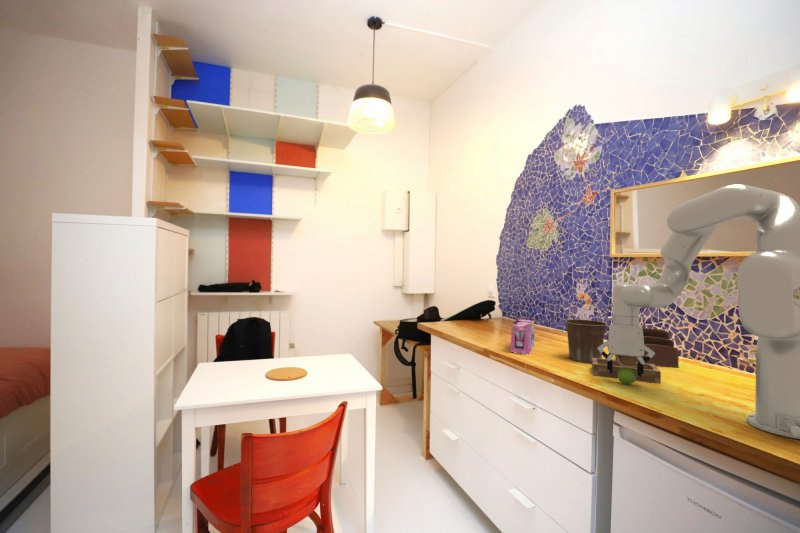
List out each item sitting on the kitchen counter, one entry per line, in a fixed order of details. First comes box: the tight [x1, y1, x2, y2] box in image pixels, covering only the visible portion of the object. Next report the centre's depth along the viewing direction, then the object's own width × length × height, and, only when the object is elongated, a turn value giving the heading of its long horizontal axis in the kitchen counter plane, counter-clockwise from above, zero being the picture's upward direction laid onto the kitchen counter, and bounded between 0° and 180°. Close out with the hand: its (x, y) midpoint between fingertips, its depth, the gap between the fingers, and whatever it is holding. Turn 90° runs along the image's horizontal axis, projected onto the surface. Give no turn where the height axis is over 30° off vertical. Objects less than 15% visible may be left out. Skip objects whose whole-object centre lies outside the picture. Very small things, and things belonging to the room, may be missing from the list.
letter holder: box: [619, 327, 680, 369], centre depth 154 cm, size 10×20×14 cm, turn 74°
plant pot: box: [564, 318, 608, 364], centre depth 156 cm, size 16×16×16 cm
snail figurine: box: [614, 355, 636, 385], centre depth 123 cm, size 5×6×12 cm
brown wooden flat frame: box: [591, 357, 662, 384], centre depth 134 cm, size 12×20×4 cm, turn 65°
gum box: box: [510, 317, 536, 355], centre depth 175 cm, size 24×8×14 cm, turn 154°
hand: (624, 373), depth 123 cm, fingers open, 7 cm apart
